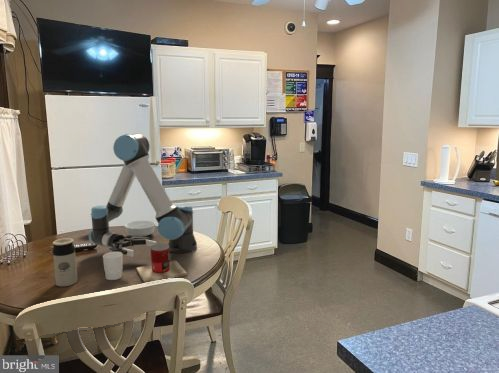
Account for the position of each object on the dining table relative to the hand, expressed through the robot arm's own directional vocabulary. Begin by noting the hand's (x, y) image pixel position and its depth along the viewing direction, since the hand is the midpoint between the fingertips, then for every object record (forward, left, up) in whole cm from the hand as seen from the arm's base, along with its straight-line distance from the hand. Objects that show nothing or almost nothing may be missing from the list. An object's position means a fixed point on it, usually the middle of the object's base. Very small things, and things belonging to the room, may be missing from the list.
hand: (145, 249), depth 161 cm
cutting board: (-5, +8, -9) cm, 13 cm away
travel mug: (+32, 0, -9) cm, 33 cm away
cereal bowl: (-8, -50, -9) cm, 51 cm away
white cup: (+14, +3, -9) cm, 17 cm away
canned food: (-5, +8, -8) cm, 12 cm away
